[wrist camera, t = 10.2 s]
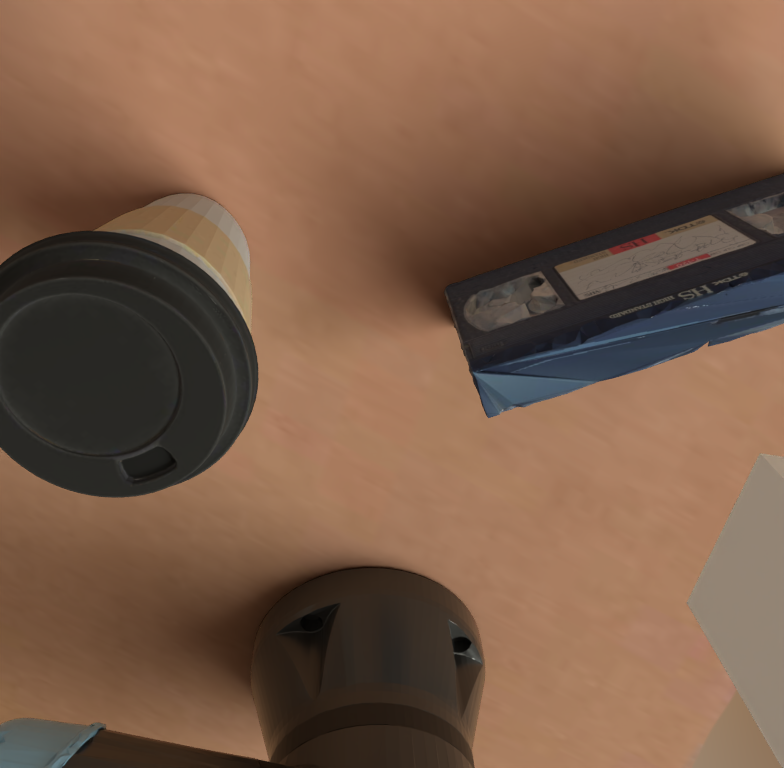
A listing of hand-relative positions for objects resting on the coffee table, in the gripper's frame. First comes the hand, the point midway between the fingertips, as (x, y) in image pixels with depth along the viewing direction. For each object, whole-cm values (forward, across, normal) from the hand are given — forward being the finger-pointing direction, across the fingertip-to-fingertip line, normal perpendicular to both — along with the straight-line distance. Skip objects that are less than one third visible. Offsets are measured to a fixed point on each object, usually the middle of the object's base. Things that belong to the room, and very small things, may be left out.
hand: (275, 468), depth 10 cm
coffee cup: (+28, +6, +6) cm, 29 cm away
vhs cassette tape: (+28, -16, +2) cm, 32 cm away
